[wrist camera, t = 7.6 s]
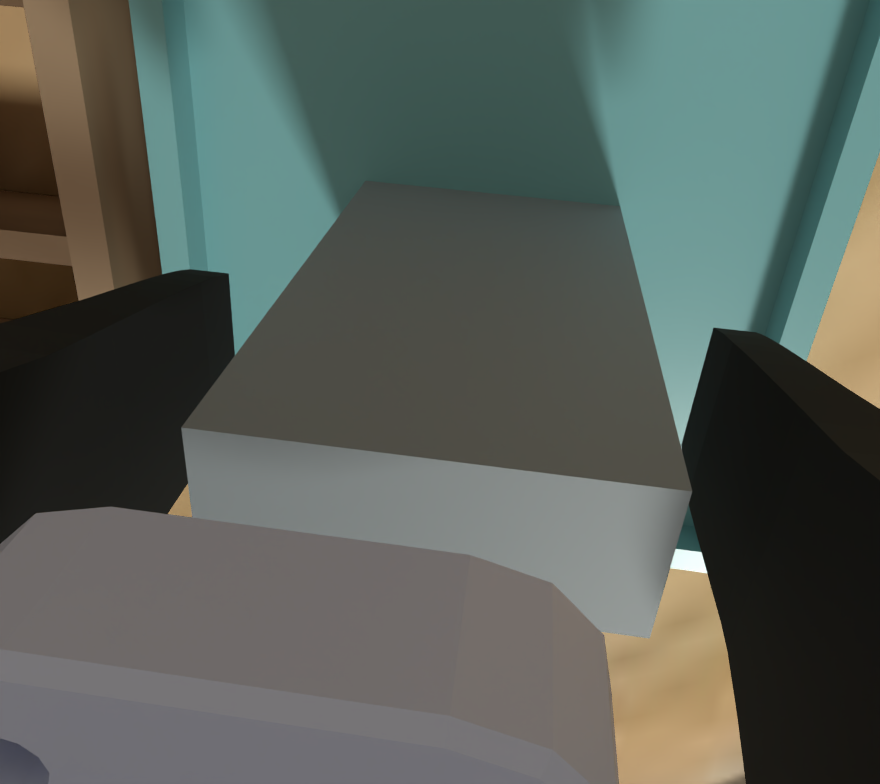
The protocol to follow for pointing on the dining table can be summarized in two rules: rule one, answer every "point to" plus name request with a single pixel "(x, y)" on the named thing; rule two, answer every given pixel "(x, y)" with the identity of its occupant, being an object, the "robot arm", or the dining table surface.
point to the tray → (527, 141)
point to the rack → (87, 151)
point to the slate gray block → (460, 398)
